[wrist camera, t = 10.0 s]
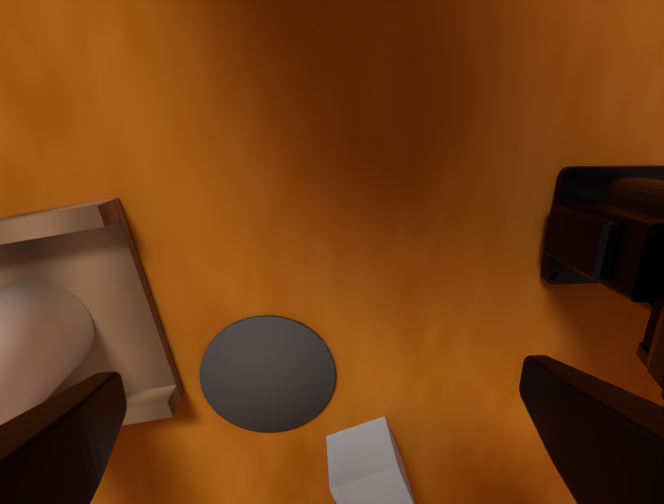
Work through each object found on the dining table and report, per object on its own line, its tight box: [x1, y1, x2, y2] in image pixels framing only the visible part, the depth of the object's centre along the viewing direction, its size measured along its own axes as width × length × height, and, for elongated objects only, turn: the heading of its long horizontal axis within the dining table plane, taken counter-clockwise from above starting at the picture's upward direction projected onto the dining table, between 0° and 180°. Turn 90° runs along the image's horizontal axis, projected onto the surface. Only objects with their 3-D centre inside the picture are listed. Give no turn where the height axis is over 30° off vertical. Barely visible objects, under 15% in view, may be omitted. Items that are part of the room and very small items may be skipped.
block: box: [326, 416, 415, 504], centre depth 24 cm, size 4×4×4 cm
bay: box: [0, 198, 184, 426], centre depth 21 cm, size 12×12×2 cm
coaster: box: [200, 315, 335, 432], centre depth 24 cm, size 8×8×1 cm
